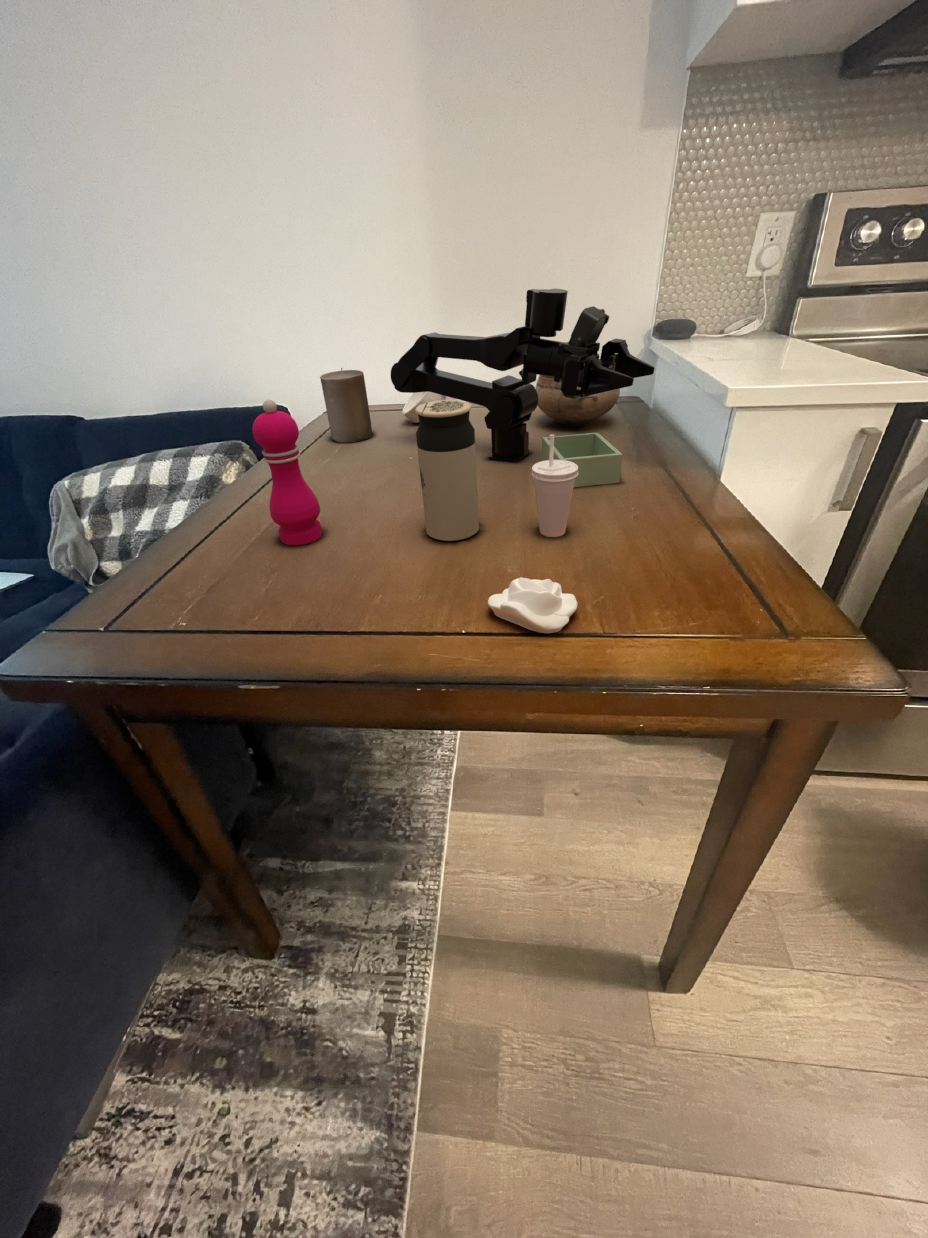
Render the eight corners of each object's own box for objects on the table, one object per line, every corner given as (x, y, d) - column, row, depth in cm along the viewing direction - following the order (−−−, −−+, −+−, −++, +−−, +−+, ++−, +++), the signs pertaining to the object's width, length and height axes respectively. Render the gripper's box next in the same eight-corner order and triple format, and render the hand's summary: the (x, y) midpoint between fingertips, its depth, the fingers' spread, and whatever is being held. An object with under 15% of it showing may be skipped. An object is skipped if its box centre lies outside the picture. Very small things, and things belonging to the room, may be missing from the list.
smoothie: (527, 524, 82) (527, 430, 74) (568, 520, 82) (574, 426, 75) (535, 543, 77) (537, 443, 69) (579, 539, 77) (586, 439, 69)
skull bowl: (475, 415, 132) (445, 371, 125) (430, 451, 135) (398, 410, 128) (467, 405, 140) (439, 363, 133) (425, 439, 143) (395, 400, 137)
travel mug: (483, 520, 84) (478, 398, 74) (473, 543, 78) (466, 413, 68) (433, 519, 86) (422, 399, 76) (420, 541, 79) (405, 414, 69)
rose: (490, 605, 56) (484, 560, 64) (491, 639, 59) (485, 592, 67) (586, 599, 56) (568, 555, 64) (583, 633, 59) (566, 587, 67)
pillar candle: (378, 430, 131) (368, 362, 122) (365, 442, 123) (353, 371, 114) (340, 431, 132) (328, 364, 124) (324, 443, 125) (310, 372, 116)
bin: (541, 463, 105) (542, 437, 102) (595, 458, 105) (597, 432, 102) (559, 488, 93) (560, 459, 91) (619, 482, 94) (622, 454, 91)
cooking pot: (526, 412, 137) (527, 359, 130) (601, 406, 137) (605, 353, 130) (543, 440, 116) (545, 379, 109) (631, 434, 116) (638, 372, 110)
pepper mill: (283, 551, 79) (244, 409, 68) (273, 533, 85) (236, 399, 73) (331, 539, 82) (301, 400, 71) (318, 522, 87) (289, 390, 76)
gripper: (536, 313, 83) (633, 328, 76) (588, 301, 95) (676, 312, 88) (528, 389, 90) (616, 409, 83) (578, 369, 102) (659, 384, 95)
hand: (643, 376), depth 87 cm, fingers open, 9 cm apart
